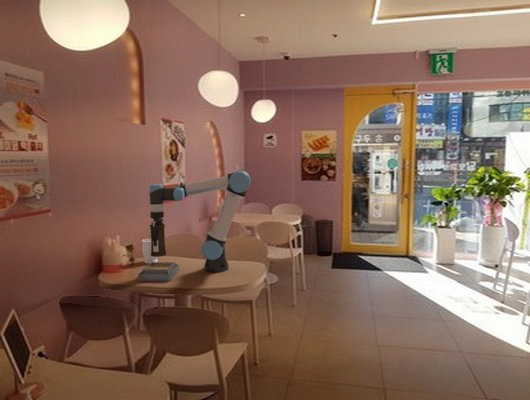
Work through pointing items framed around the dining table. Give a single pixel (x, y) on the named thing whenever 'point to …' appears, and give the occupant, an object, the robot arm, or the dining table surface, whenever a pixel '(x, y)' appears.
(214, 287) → the dining table surface
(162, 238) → the container
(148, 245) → the jar
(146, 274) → the grey tray
